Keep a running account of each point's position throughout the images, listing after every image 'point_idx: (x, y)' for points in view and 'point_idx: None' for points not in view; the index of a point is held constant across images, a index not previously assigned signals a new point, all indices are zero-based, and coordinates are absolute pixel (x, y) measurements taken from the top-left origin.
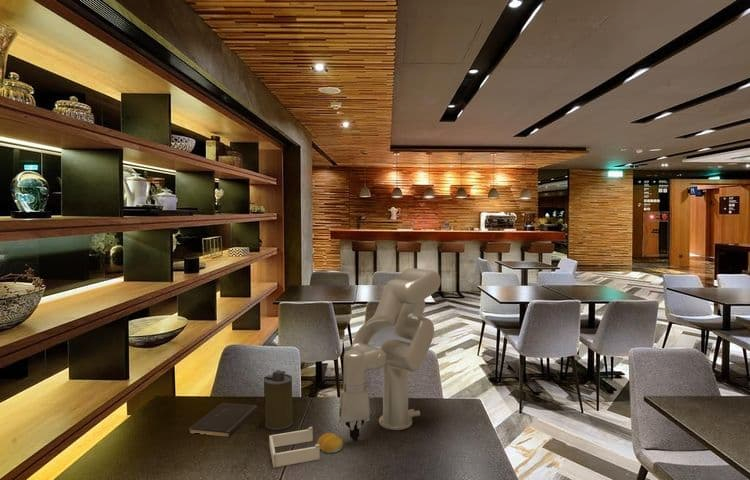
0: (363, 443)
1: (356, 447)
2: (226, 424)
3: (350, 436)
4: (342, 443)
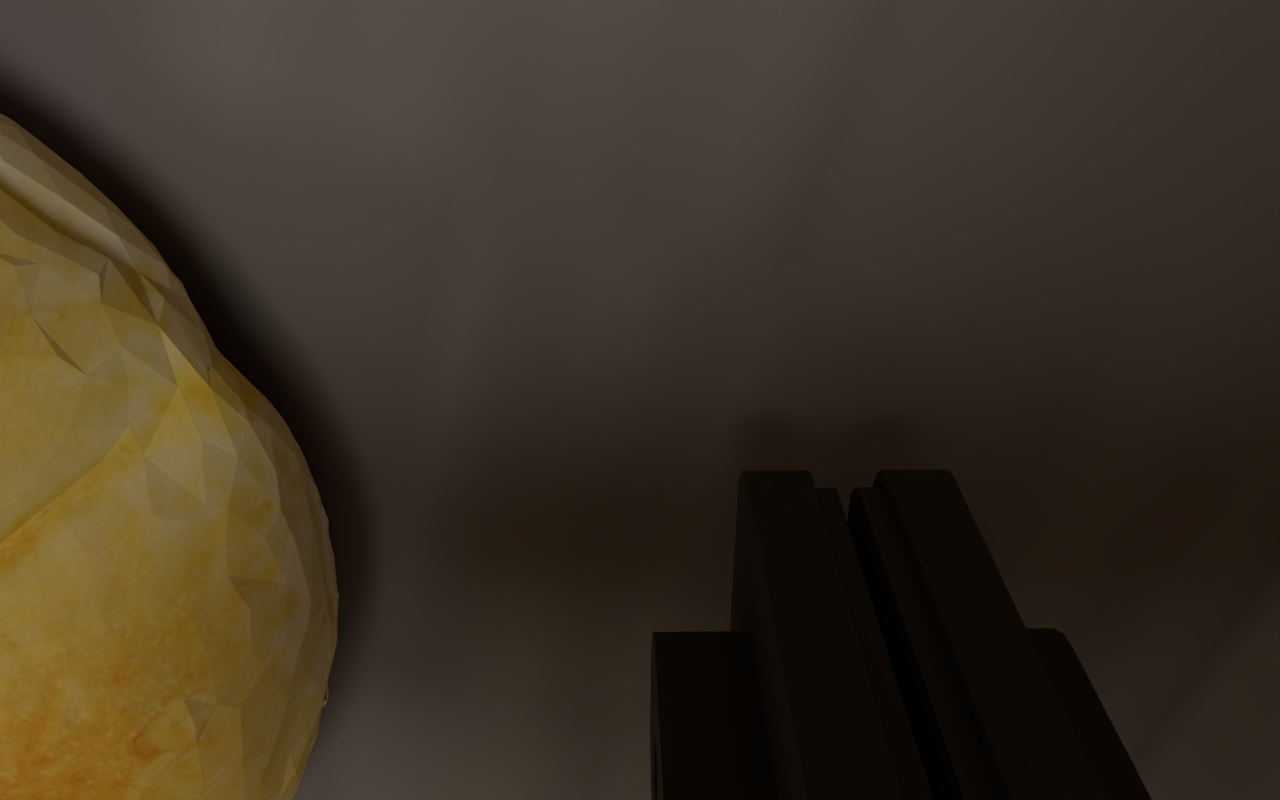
0: None
1: None
2: None
3: (653, 724)
4: None
